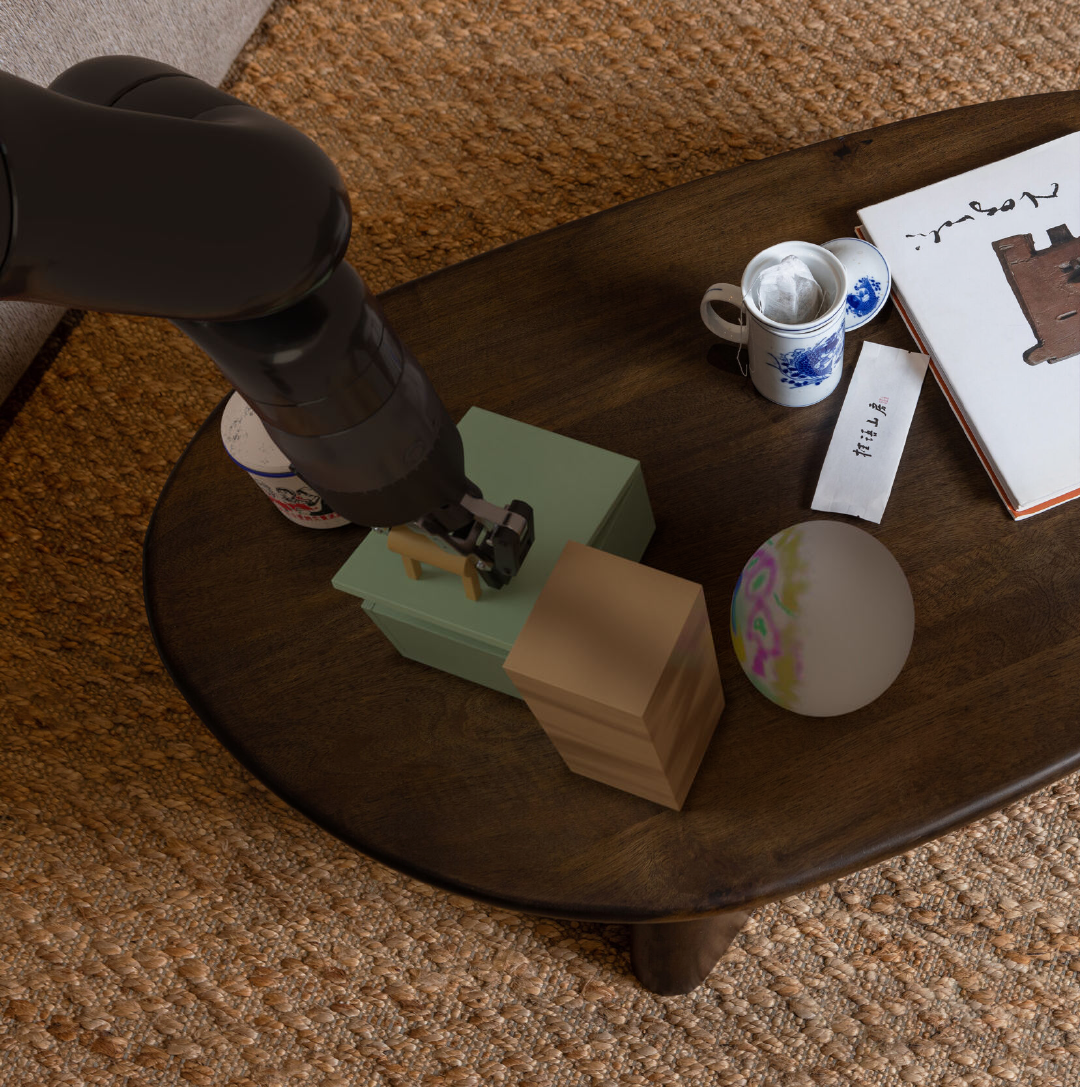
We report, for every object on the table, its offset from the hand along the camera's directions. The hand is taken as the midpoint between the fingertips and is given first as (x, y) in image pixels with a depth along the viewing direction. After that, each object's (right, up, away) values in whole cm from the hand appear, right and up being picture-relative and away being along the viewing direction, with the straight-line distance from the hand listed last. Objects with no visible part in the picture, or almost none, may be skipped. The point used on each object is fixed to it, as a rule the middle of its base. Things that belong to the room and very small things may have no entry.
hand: (460, 559), depth 72 cm
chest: (+1, -2, +13) cm, 13 cm away
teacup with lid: (-14, +5, +17) cm, 22 cm away
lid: (+1, +2, +3) cm, 4 cm away
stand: (+10, -12, +8) cm, 18 cm away
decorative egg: (+22, -7, +12) cm, 26 cm away
